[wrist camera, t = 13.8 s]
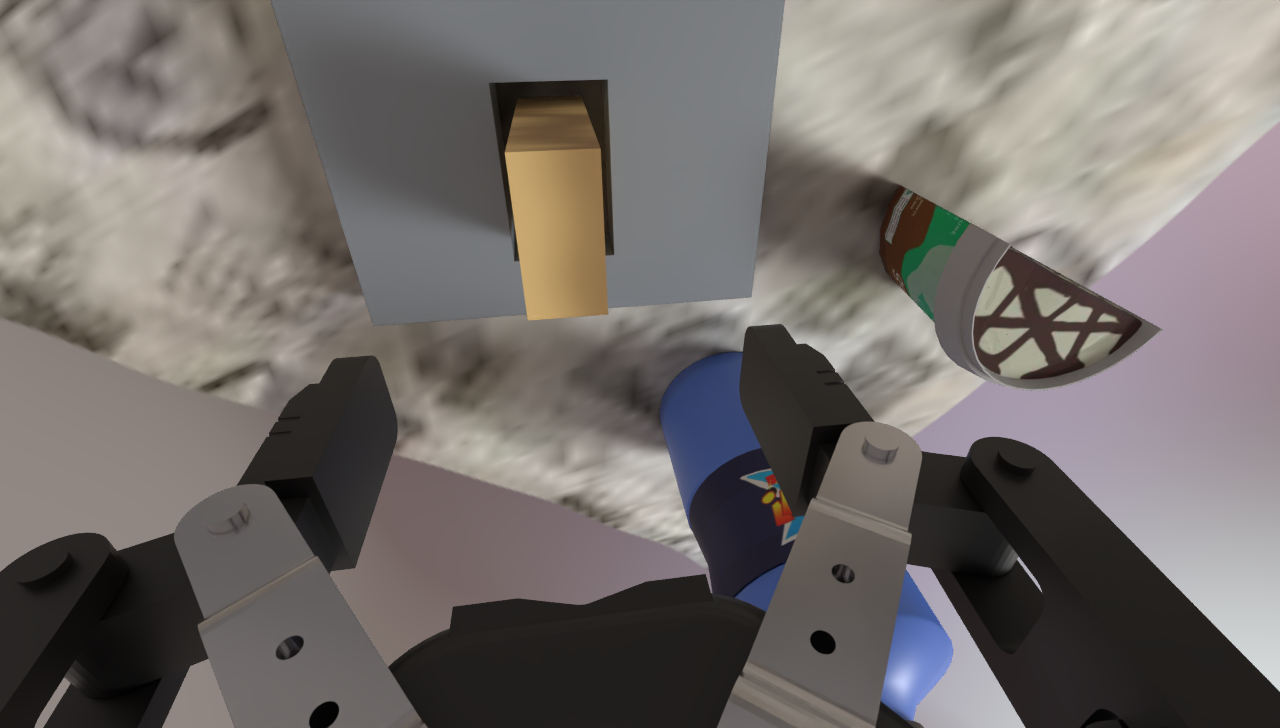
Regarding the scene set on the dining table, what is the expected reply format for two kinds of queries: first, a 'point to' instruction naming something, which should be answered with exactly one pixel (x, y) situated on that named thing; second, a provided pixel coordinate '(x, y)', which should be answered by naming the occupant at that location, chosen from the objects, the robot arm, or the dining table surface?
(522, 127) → the keyed peg
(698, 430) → the water bottle
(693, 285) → the keyed plate
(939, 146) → the dining table surface
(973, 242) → the food container
